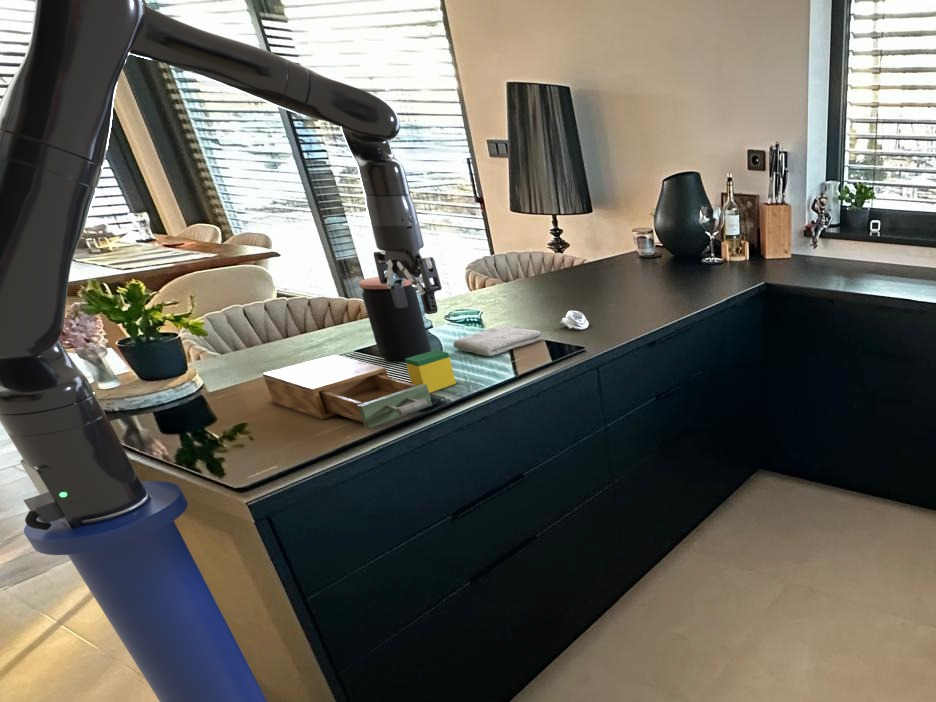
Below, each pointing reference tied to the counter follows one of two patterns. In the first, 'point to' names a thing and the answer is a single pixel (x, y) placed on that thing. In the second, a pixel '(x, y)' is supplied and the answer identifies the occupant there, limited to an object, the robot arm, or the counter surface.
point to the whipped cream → (574, 320)
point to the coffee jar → (395, 321)
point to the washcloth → (497, 340)
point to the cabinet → (315, 382)
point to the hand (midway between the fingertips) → (416, 310)
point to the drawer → (375, 399)
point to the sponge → (431, 370)
